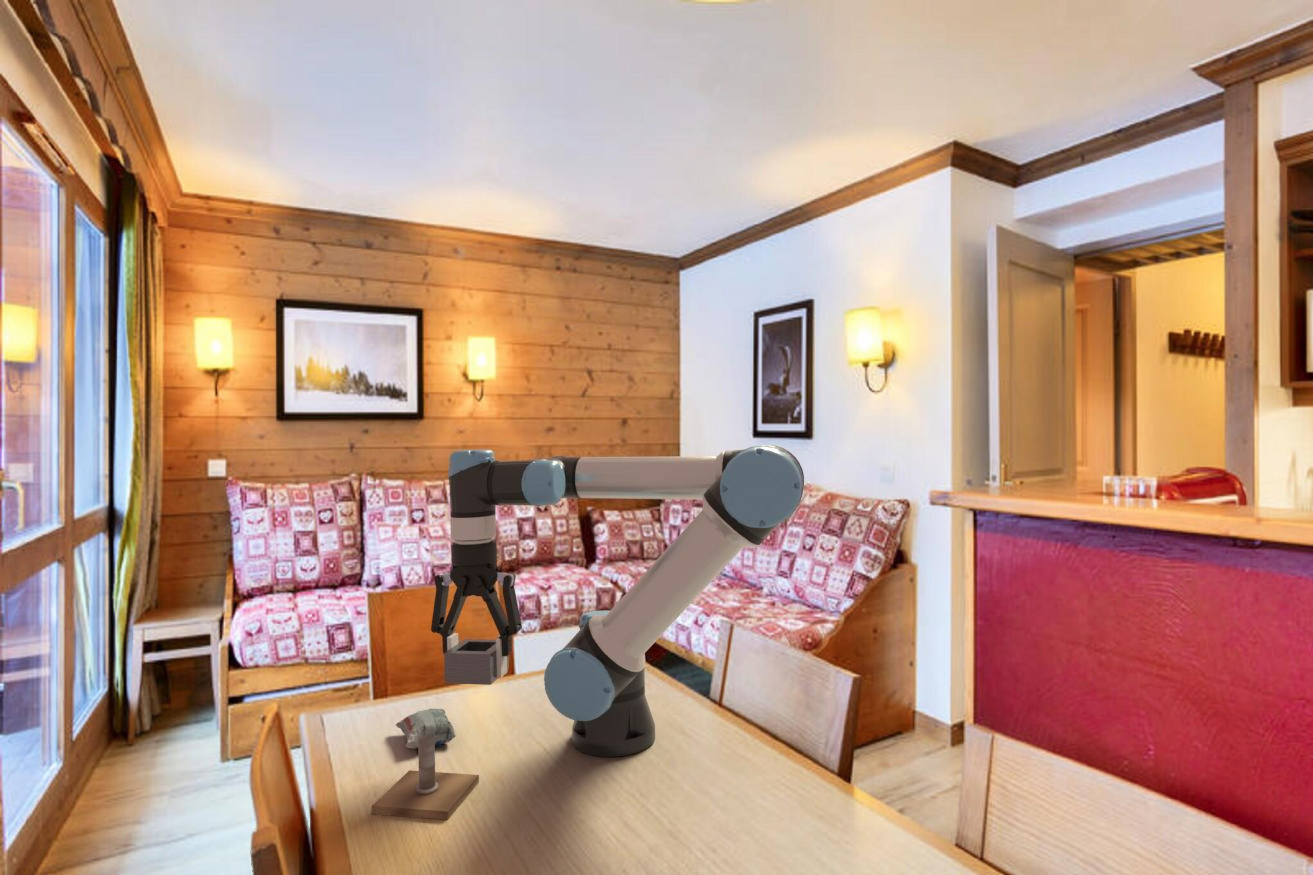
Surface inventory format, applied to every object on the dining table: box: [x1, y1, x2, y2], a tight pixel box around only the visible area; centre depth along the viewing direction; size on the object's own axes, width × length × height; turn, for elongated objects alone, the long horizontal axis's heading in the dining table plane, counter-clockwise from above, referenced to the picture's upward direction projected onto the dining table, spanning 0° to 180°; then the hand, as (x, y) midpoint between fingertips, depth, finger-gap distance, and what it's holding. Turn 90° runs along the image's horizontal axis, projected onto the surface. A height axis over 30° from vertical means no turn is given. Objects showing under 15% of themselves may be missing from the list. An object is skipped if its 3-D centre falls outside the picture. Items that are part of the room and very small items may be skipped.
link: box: [443, 638, 510, 686], centre depth 120 cm, size 8×8×5 cm
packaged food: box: [395, 708, 456, 749], centre depth 130 cm, size 9×12×5 cm
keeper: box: [371, 735, 480, 820], centre depth 109 cm, size 12×11×9 cm
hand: (477, 673), depth 120 cm, fingers closed on link, 8 cm apart
